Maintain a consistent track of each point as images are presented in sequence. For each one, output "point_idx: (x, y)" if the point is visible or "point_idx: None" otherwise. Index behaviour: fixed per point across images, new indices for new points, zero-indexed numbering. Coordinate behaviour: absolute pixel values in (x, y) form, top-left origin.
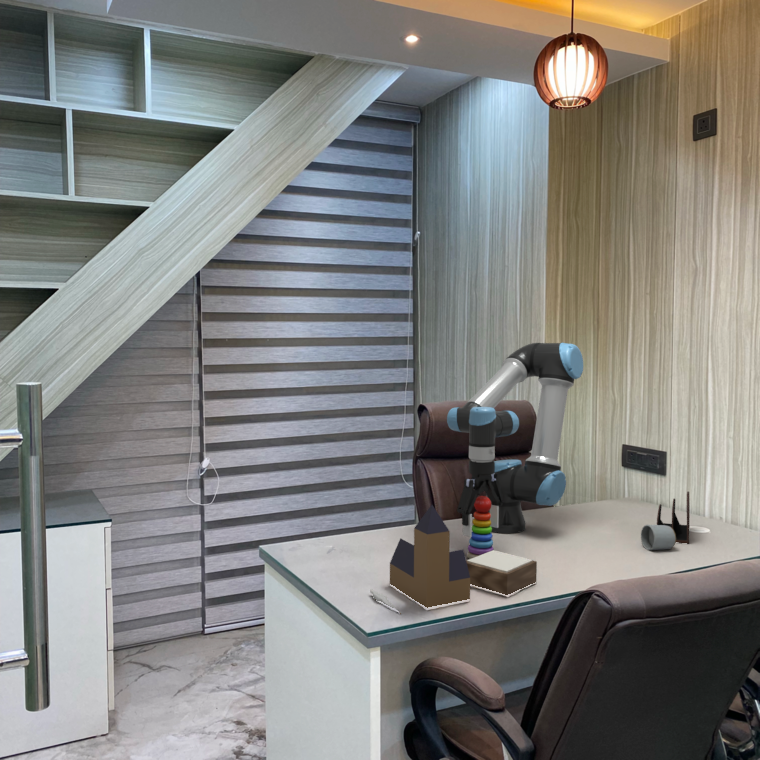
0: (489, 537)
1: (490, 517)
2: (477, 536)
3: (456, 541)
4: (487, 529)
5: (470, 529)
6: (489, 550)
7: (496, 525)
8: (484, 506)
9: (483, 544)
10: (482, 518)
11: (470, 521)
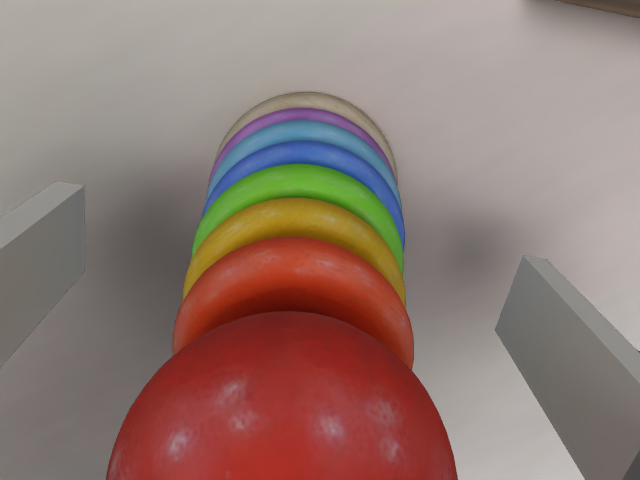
0: (334, 148)
1: (269, 239)
2: (403, 240)
3: (98, 421)
4: (353, 190)
5: (579, 295)
6: (337, 118)
7: (75, 199)
8: (428, 399)
9: (384, 166)
10: (399, 298)
11: (635, 349)
